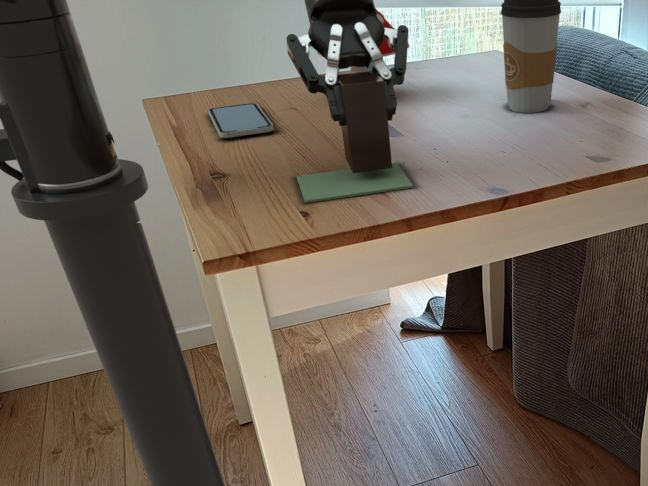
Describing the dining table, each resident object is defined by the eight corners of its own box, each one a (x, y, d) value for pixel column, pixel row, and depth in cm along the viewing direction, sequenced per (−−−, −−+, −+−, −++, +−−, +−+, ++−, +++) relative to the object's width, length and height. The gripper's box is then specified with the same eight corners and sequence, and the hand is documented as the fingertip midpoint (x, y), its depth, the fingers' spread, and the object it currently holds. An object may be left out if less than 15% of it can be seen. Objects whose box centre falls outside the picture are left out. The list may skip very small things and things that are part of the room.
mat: (305, 203, 74) (304, 200, 74) (296, 178, 80) (296, 176, 80) (413, 187, 77) (413, 185, 77) (397, 165, 83) (396, 162, 83)
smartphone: (256, 102, 106) (274, 126, 94) (257, 107, 106) (275, 132, 95) (206, 108, 104) (219, 133, 92) (208, 114, 104) (220, 140, 93)
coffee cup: (490, 105, 104) (489, -6, 95) (537, 96, 107) (540, -12, 98) (519, 118, 98) (520, 1, 89) (568, 109, 101) (574, -5, 92)
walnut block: (353, 173, 77) (342, 85, 72) (345, 159, 81) (334, 74, 76) (392, 168, 78) (384, 80, 73) (383, 154, 82) (374, 70, 77)
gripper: (267, -39, 72) (299, 108, 70) (399, -47, 76) (435, 93, 73) (272, 10, 80) (301, 144, 77) (393, 1, 83) (425, 129, 80)
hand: (366, 118), depth 75 cm, fingers closed on walnut block, 4 cm apart
